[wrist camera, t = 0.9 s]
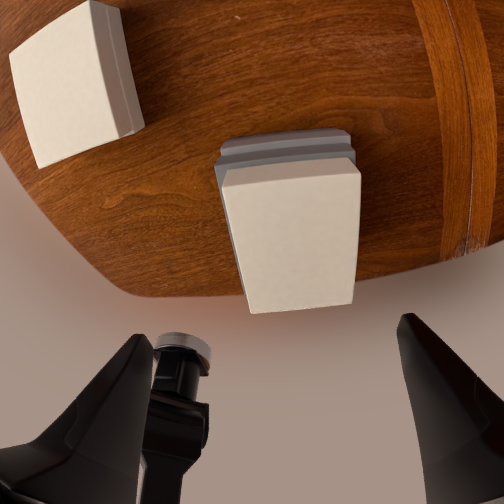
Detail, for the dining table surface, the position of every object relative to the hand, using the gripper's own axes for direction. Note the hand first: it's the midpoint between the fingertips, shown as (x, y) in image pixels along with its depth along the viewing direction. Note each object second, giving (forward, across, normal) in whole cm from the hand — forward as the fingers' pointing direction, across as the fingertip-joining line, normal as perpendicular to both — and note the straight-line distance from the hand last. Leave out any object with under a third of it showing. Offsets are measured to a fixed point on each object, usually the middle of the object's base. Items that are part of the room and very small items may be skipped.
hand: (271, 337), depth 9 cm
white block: (+8, -1, +1) cm, 8 cm away
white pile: (+12, +11, -10) cm, 19 cm away
